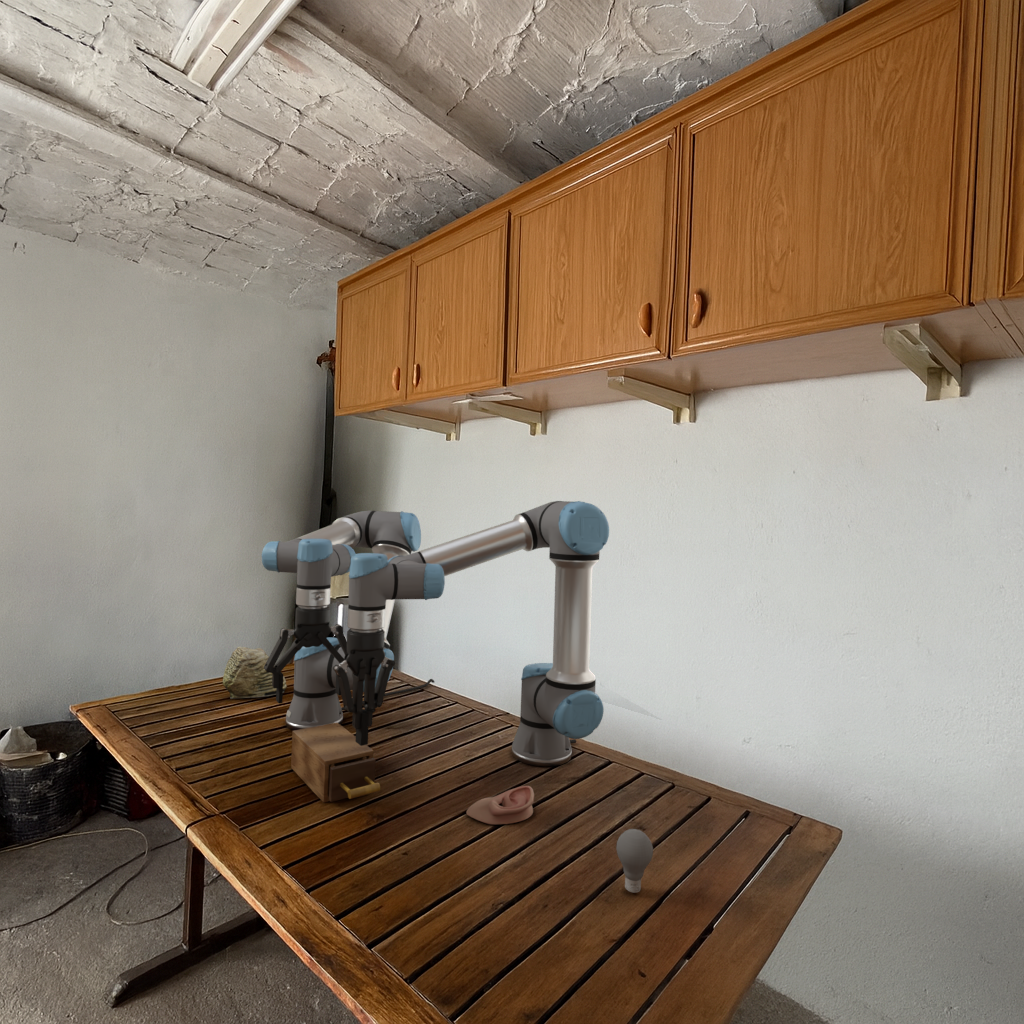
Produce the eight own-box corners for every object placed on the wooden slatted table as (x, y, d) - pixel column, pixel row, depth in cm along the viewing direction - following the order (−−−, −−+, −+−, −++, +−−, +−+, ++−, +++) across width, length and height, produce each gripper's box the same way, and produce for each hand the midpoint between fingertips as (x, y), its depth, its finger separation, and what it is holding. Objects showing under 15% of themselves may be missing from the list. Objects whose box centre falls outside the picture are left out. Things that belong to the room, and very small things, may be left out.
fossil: (218, 695, 195) (220, 647, 195) (278, 685, 208) (279, 640, 207) (228, 703, 189) (230, 653, 188) (289, 692, 201) (290, 645, 201)
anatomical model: (462, 800, 126) (477, 776, 137) (461, 820, 126) (476, 794, 137) (528, 810, 123) (537, 784, 135) (527, 830, 123) (536, 803, 135)
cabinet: (371, 789, 138) (373, 750, 138) (323, 802, 131) (325, 761, 131) (335, 757, 154) (337, 722, 154) (290, 767, 147) (292, 730, 147)
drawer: (387, 801, 131) (388, 769, 131) (342, 814, 125) (343, 780, 125) (339, 759, 151) (340, 731, 150) (299, 768, 145) (300, 739, 144)
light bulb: (610, 879, 108) (613, 822, 108) (644, 879, 109) (647, 822, 109) (619, 902, 102) (622, 840, 102) (655, 901, 103) (658, 840, 103)
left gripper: (259, 612, 136) (255, 710, 136) (370, 605, 149) (367, 695, 150) (252, 606, 142) (249, 700, 142) (359, 600, 156) (356, 686, 156)
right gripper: (343, 635, 123) (338, 756, 123) (403, 629, 131) (398, 742, 131) (328, 628, 129) (323, 743, 129) (386, 622, 137) (382, 731, 137)
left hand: (309, 697), depth 146 cm, fingers open, 13 cm apart
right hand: (361, 742), depth 130 cm, fingers closed
